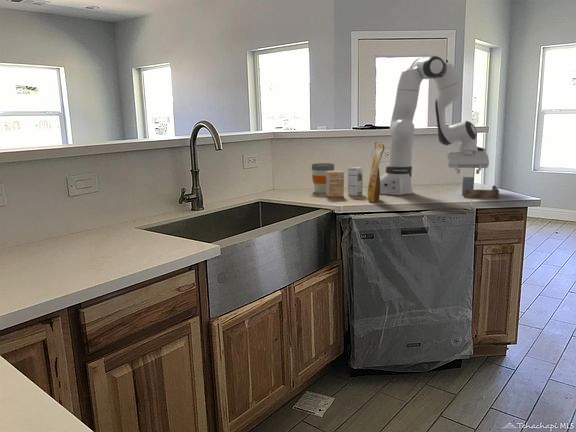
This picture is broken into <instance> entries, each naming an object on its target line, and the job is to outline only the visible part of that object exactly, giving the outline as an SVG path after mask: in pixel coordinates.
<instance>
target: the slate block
mask: <svg viewBox="0 0 576 432" xmlns="http://www.w3.org/2000/svg"><path fill="white" fill-rule="evenodd" d="M474 183H475V177H474V176H463V177H462V185H461V186H462V189H461V195H464V191H465V189H473V190H474V186H475V185H474Z"/></svg>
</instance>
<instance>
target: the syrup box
mask: <svg viewBox="0 0 576 432" xmlns="http://www.w3.org/2000/svg"><path fill="white" fill-rule="evenodd" d="M347 195H348V196H355V197H357V196H361V195H363V167H362V166H352V167H351V166H350V167H347Z"/></svg>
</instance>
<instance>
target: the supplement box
mask: <svg viewBox="0 0 576 432" xmlns="http://www.w3.org/2000/svg"><path fill="white" fill-rule="evenodd" d="M344 183H345V172H344V171H342V170H337V171H335V170H334V171H326V193H325V196H326V197H327V198H342V197H343V198H344V194H345V193H344V191H345V190H344V189H345V188H344V187H345V185H344Z"/></svg>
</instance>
